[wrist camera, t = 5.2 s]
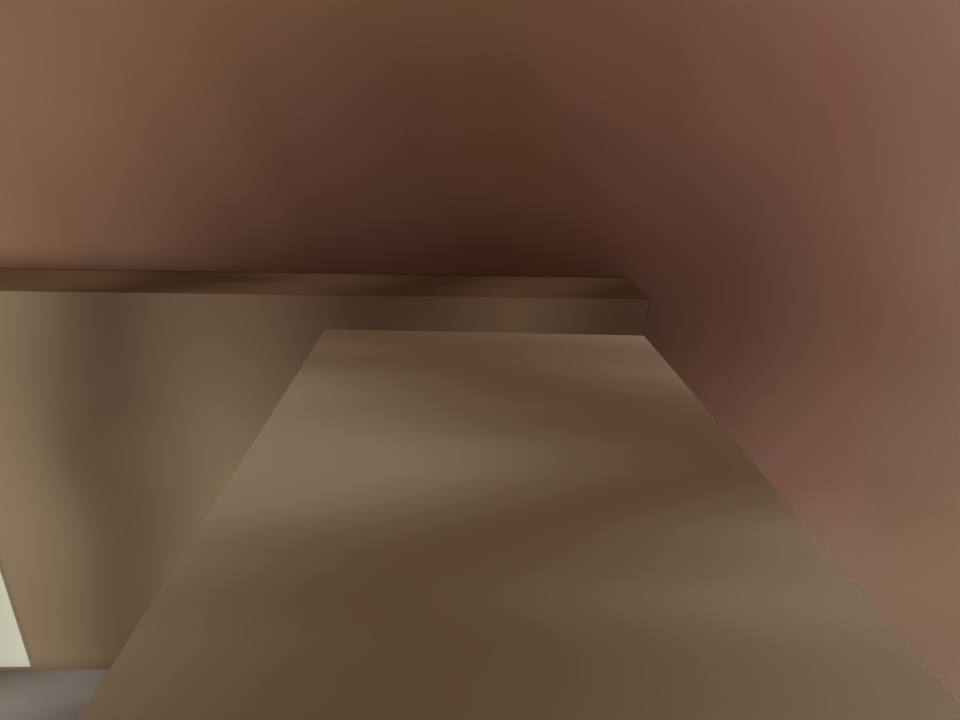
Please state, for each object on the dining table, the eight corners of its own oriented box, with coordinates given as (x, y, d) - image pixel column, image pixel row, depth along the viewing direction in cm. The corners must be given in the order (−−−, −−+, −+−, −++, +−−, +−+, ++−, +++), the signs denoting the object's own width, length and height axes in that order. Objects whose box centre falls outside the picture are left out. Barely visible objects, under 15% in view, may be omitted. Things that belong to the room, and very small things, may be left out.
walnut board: (627, 277, 17) (683, 335, 13) (585, 645, 22) (616, 772, 18) (-404, 262, 16) (-706, 320, 12) (-207, 655, 21) (-371, 794, 17)
